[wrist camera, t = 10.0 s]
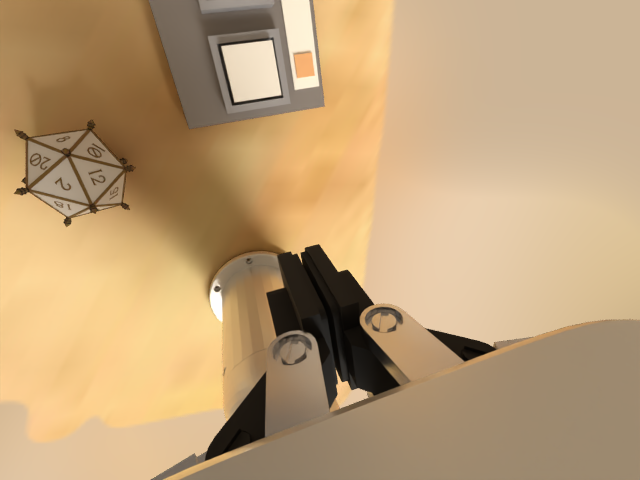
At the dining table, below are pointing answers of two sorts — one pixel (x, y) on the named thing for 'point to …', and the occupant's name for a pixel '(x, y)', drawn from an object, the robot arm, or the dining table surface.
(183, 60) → the button board
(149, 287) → the dining table surface
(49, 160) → the game die
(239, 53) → the button
